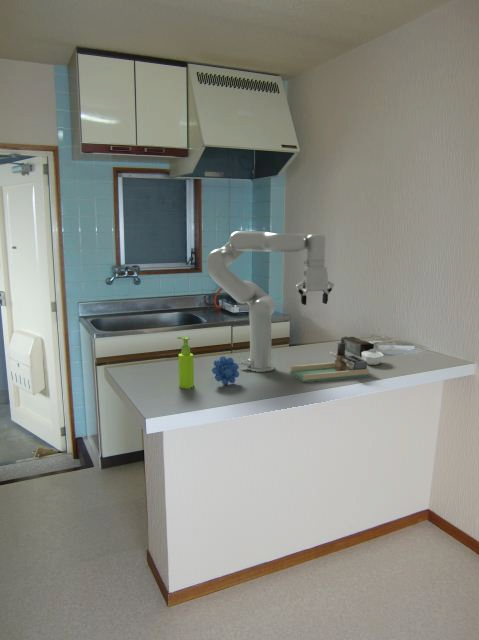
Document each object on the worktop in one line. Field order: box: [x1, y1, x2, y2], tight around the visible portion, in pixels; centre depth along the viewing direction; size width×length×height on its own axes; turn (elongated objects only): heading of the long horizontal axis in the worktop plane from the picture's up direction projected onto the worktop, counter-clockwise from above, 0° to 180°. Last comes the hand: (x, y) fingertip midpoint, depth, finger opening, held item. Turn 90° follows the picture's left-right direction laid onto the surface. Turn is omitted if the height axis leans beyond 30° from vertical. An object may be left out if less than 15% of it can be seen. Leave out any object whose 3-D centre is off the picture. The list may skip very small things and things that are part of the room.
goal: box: [345, 354, 368, 370], centre depth 222 cm, size 6×11×6 cm, turn 17°
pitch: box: [289, 361, 369, 384], centre depth 219 cm, size 30×14×3 cm, turn 107°
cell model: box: [361, 349, 384, 366], centre depth 236 cm, size 10×12×7 cm
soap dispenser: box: [176, 336, 195, 389], centre depth 203 cm, size 6×7×20 cm
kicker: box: [329, 342, 353, 371], centre depth 219 cm, size 3×19×12 cm, turn 17°
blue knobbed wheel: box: [211, 356, 240, 386], centre depth 204 cm, size 12×7×12 cm, turn 112°
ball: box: [347, 361, 354, 370], centre depth 222 cm, size 4×4×4 cm
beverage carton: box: [340, 336, 375, 357], centre depth 258 cm, size 8×19×7 cm, turn 19°
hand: (314, 303), depth 218 cm, fingers open, 9 cm apart
